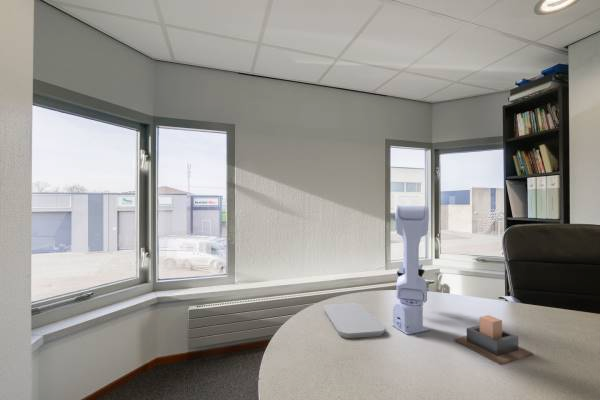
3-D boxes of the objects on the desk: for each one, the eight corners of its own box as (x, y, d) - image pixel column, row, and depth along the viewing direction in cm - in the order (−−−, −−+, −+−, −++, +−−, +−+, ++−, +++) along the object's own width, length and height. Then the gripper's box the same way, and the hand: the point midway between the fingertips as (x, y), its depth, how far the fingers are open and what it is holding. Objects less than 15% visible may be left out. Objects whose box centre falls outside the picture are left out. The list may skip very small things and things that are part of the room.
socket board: (500, 364, 74) (499, 347, 74) (454, 340, 87) (454, 326, 87) (533, 354, 79) (532, 338, 79) (485, 333, 92) (484, 319, 92)
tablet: (359, 308, 116) (359, 302, 116) (388, 337, 90) (388, 330, 90) (321, 310, 113) (321, 304, 113) (340, 341, 87) (340, 333, 87)
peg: (492, 349, 81) (492, 322, 81) (479, 343, 85) (479, 316, 85) (502, 347, 82) (501, 320, 82) (488, 341, 86) (488, 315, 86)
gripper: (410, 258, 103) (410, 294, 103) (429, 254, 112) (429, 287, 112) (393, 255, 108) (393, 290, 108) (413, 251, 117) (413, 283, 117)
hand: (411, 288), depth 110 cm, fingers open, 7 cm apart
